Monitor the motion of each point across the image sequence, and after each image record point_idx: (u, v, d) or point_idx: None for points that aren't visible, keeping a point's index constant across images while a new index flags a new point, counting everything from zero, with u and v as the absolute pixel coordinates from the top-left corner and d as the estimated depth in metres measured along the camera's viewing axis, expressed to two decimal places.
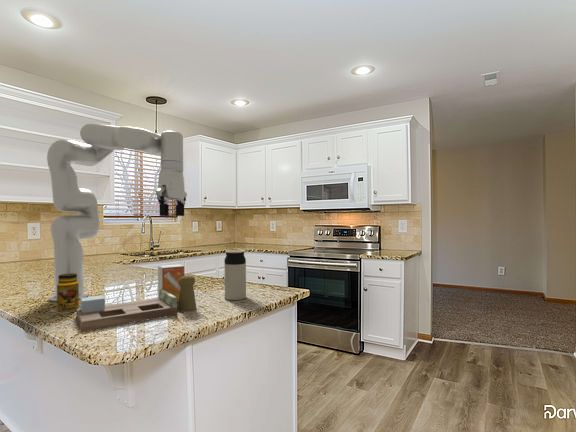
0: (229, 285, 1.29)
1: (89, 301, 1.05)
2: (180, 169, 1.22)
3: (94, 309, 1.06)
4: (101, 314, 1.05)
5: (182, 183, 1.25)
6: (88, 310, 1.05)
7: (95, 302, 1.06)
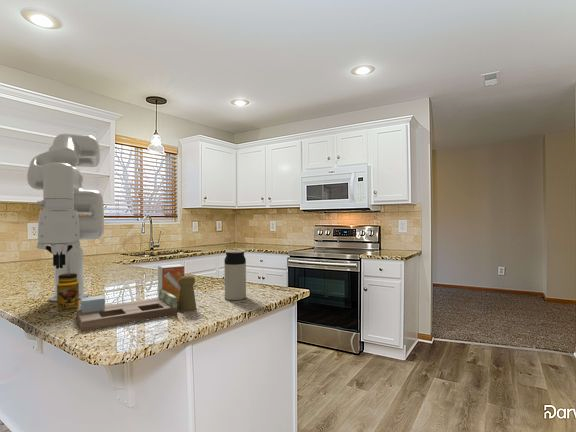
0: (229, 285, 1.29)
1: (89, 301, 1.05)
2: None
3: (94, 309, 1.06)
4: (101, 314, 1.05)
5: None
6: (88, 310, 1.05)
7: (95, 302, 1.06)
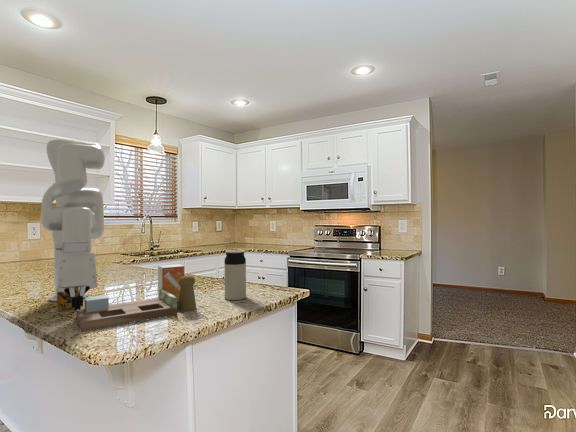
0: (229, 285, 1.29)
1: (93, 301, 1.06)
2: None
3: (98, 309, 1.07)
4: (101, 314, 1.05)
5: None
6: (92, 309, 1.06)
7: (99, 302, 1.07)
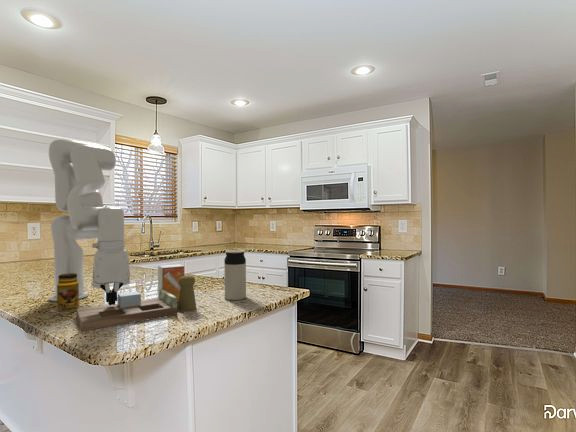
0: (229, 285, 1.29)
1: (127, 296, 1.11)
2: None
3: (131, 304, 1.12)
4: (101, 314, 1.05)
5: None
6: (126, 305, 1.11)
7: (132, 297, 1.12)
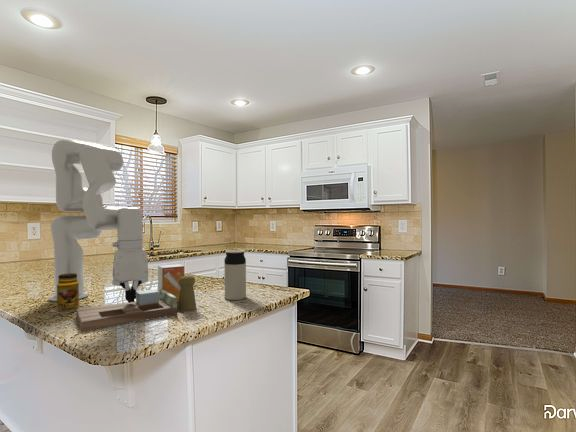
0: (229, 285, 1.29)
1: (145, 294, 1.14)
2: None
3: (150, 302, 1.15)
4: (101, 314, 1.05)
5: None
6: (144, 302, 1.14)
7: (150, 295, 1.15)
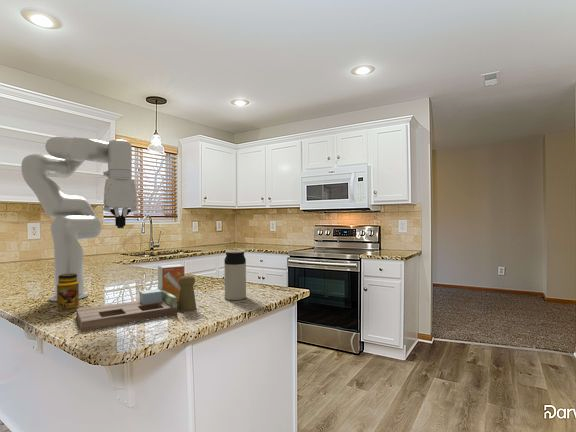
0: (228, 285, 1.29)
1: (149, 294, 1.15)
2: None
3: (153, 301, 1.15)
4: (101, 314, 1.05)
5: None
6: (148, 302, 1.14)
7: (154, 295, 1.16)
